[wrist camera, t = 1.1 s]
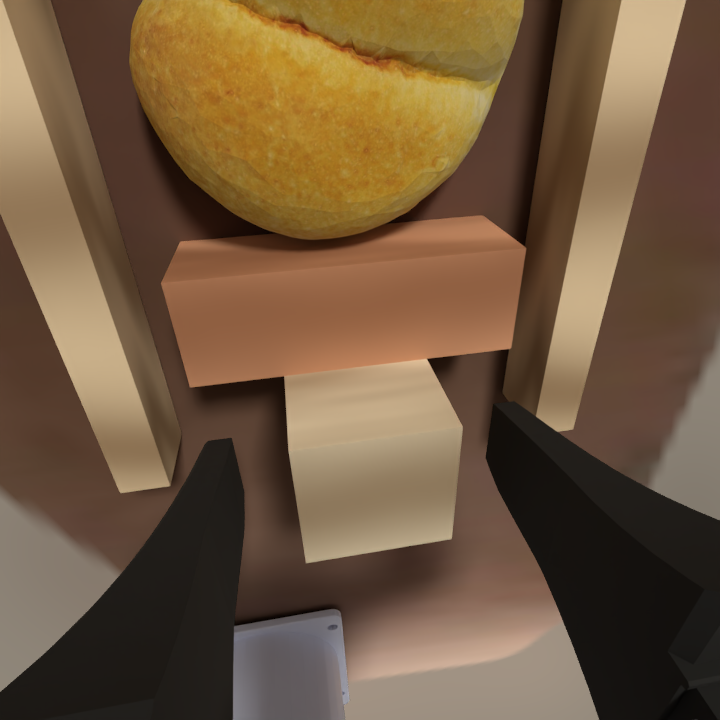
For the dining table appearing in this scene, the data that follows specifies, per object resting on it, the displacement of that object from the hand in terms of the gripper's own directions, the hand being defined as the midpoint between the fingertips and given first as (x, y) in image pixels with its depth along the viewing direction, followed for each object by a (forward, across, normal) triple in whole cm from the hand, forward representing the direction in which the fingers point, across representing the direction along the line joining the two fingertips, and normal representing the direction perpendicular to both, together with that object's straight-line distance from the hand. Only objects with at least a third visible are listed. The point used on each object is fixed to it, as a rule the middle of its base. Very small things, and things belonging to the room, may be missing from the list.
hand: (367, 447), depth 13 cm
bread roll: (+5, 0, -10) cm, 11 cm away
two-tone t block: (+4, 0, -1) cm, 4 cm away
